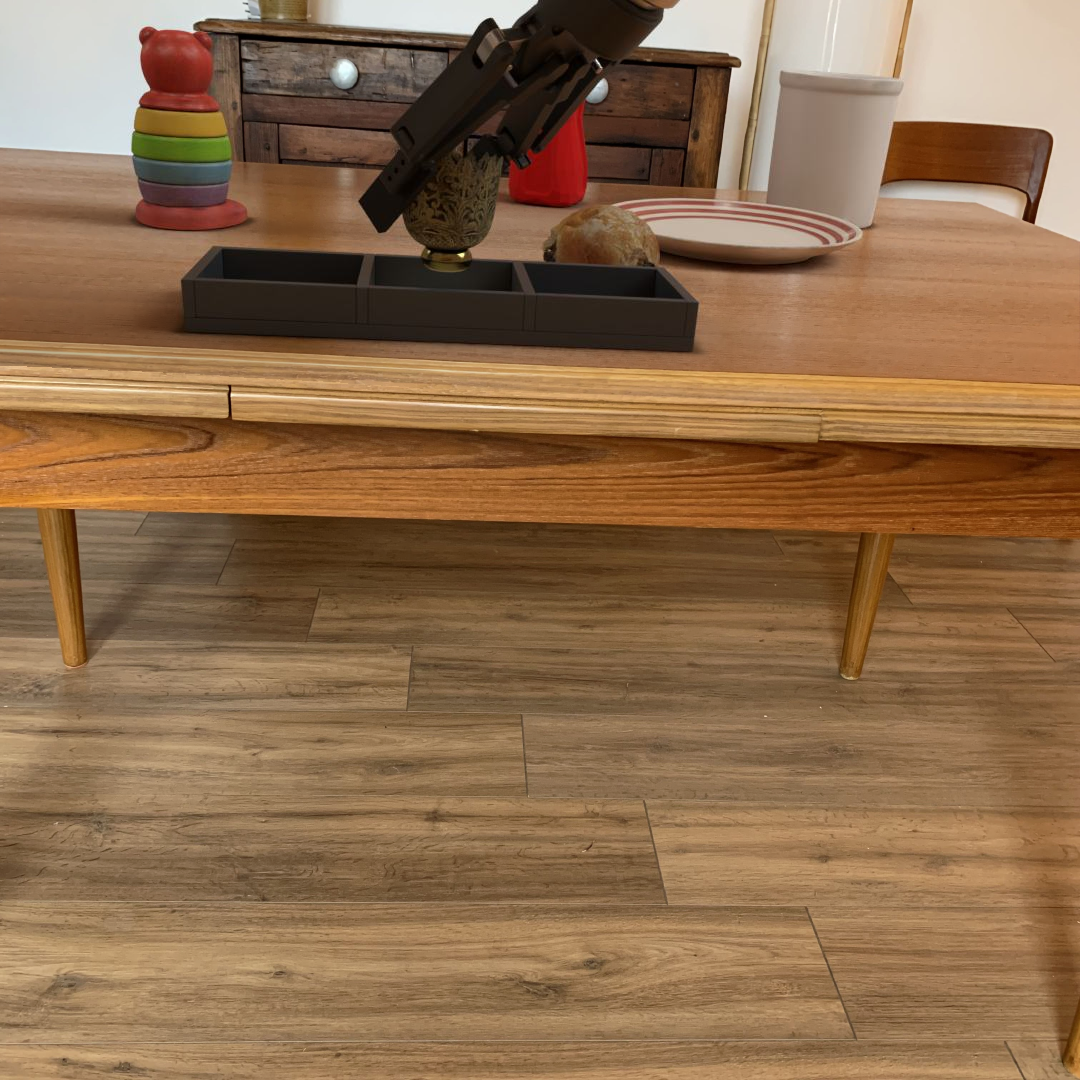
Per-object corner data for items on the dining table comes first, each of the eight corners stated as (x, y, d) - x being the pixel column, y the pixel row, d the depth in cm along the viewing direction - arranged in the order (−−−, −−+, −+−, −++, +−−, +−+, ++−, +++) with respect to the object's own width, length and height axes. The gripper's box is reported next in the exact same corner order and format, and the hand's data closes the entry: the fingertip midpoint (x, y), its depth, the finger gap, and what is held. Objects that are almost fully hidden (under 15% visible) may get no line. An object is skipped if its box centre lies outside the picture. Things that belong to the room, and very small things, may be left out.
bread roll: (602, 330, 95) (647, 251, 91) (514, 263, 97) (553, 183, 93) (648, 310, 103) (691, 237, 99) (565, 249, 105) (604, 175, 101)
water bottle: (495, 203, 136) (506, -22, 126) (524, 194, 146) (536, -16, 135) (566, 211, 134) (583, -17, 123) (591, 201, 143) (608, -11, 133)
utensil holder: (876, 234, 133) (906, 79, 126) (754, 221, 136) (776, 69, 129) (876, 219, 146) (903, 77, 139) (764, 207, 149) (785, 68, 142)
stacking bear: (251, 217, 115) (242, 31, 108) (233, 233, 106) (222, 32, 99) (146, 211, 114) (130, 24, 107) (118, 227, 105) (99, 23, 98)
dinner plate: (829, 287, 101) (835, 251, 100) (559, 248, 111) (561, 214, 109) (876, 248, 124) (882, 217, 122) (649, 218, 134) (652, 189, 132)
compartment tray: (184, 332, 73) (180, 279, 71) (215, 292, 84) (212, 245, 82) (692, 351, 77) (699, 302, 75) (659, 311, 88) (664, 267, 86)
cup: (462, 256, 83) (466, 146, 80) (518, 275, 78) (524, 157, 75) (375, 262, 79) (375, 145, 76) (428, 282, 74) (431, 158, 70)
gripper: (564, 7, 56) (338, 272, 71) (733, 25, 72) (519, 240, 86) (485, -111, 56) (277, 177, 71) (671, -68, 72) (468, 162, 87)
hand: (410, 211), depth 79 cm, fingers closed on cup, 7 cm apart
